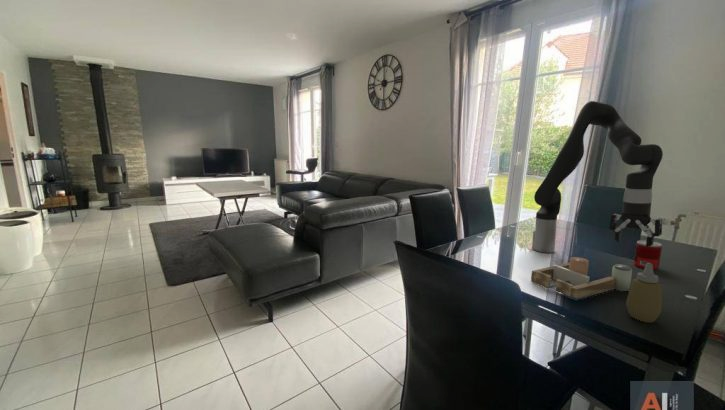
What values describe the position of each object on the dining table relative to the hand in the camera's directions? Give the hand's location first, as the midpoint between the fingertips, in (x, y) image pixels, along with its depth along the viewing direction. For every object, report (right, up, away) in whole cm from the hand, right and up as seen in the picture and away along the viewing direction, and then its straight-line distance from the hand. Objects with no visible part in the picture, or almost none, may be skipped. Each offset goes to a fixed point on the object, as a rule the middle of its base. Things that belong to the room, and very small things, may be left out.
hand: (632, 243), depth 111 cm
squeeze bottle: (-13, -21, -17) cm, 30 cm away
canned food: (+24, -13, +20) cm, 34 cm away
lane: (-19, -17, +6) cm, 26 cm away
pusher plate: (-25, -18, +4) cm, 31 cm away
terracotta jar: (-16, -17, +7) cm, 24 cm away
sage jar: (-3, -17, +2) cm, 18 cm away
